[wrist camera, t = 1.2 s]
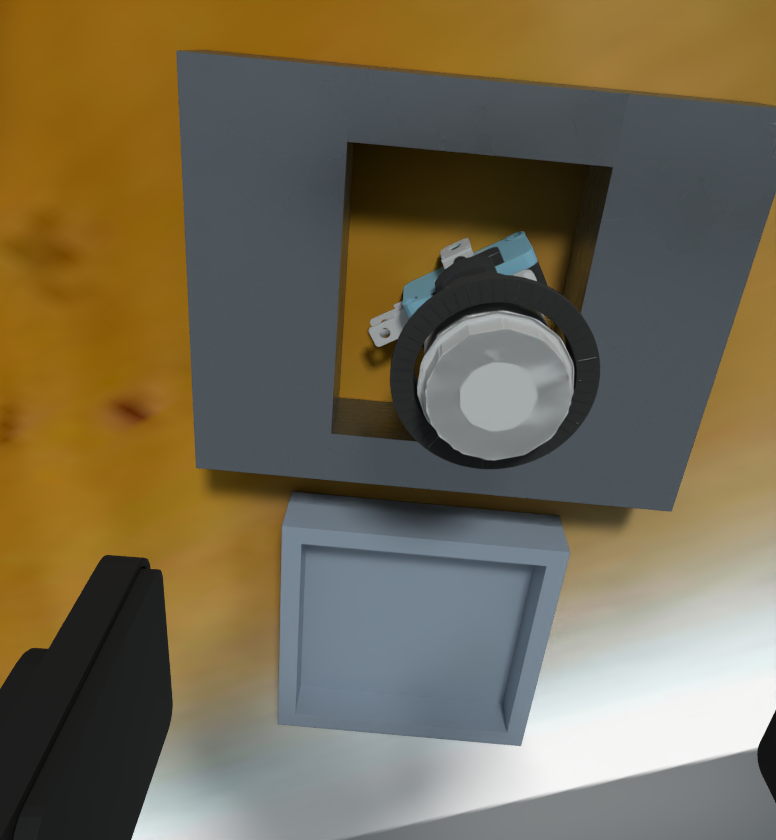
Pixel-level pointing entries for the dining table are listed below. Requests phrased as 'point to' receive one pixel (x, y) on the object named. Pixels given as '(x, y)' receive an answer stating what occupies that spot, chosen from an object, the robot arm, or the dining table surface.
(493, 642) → the tray
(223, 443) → the block
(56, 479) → the dining table surface
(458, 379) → the push button
